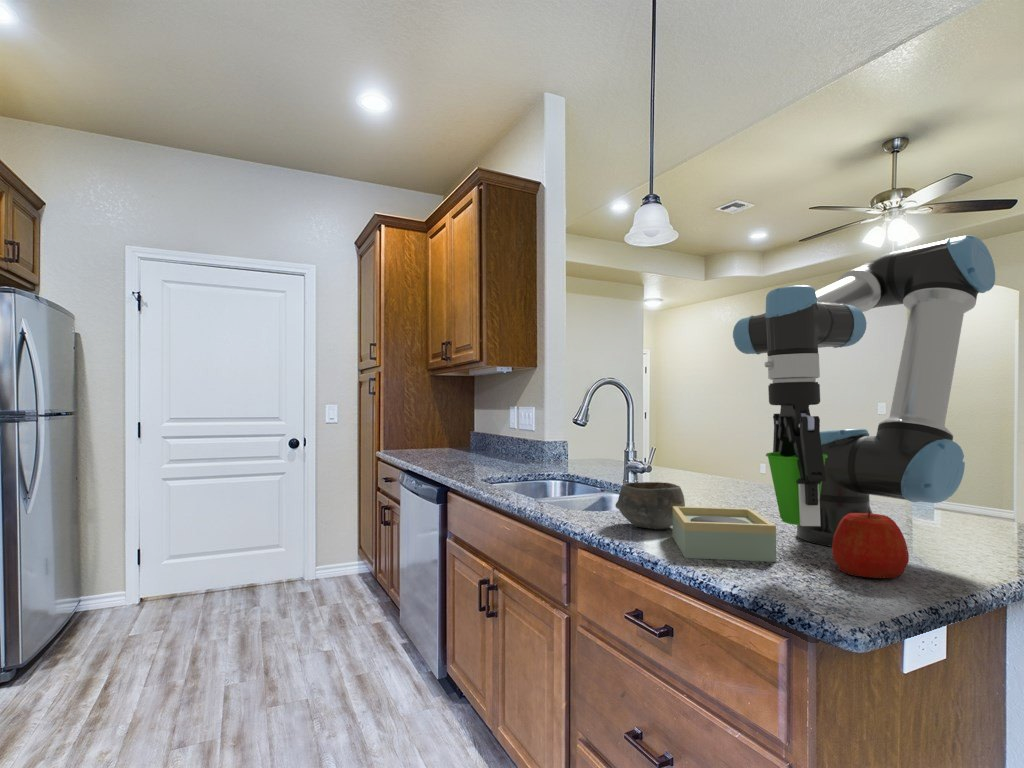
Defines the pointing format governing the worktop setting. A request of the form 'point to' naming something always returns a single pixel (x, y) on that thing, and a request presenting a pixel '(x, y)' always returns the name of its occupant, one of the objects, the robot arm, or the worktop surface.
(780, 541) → the worktop surface
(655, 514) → the bowl
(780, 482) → the cup
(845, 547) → the apple
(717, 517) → the open box
